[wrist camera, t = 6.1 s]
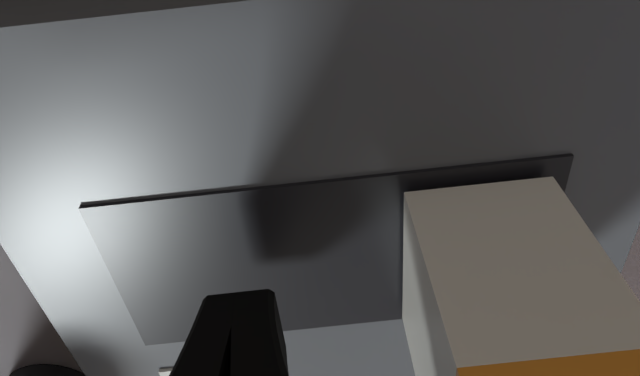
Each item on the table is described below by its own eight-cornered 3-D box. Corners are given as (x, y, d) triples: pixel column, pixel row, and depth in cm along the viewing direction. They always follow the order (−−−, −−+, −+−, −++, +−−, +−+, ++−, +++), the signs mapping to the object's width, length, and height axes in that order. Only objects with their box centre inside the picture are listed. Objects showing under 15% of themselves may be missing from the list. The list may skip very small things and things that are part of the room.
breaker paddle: (553, 176, 10) (687, 370, 7) (522, 305, 13) (611, 497, 9) (404, 191, 10) (464, 394, 7) (402, 318, 13) (446, 513, 9)
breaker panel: (672, -81, 10) (751, -53, 8) (553, 321, 17) (582, 378, 16) (-65, 0, 10) (-134, 44, 8) (131, 365, 17) (115, 426, 16)
